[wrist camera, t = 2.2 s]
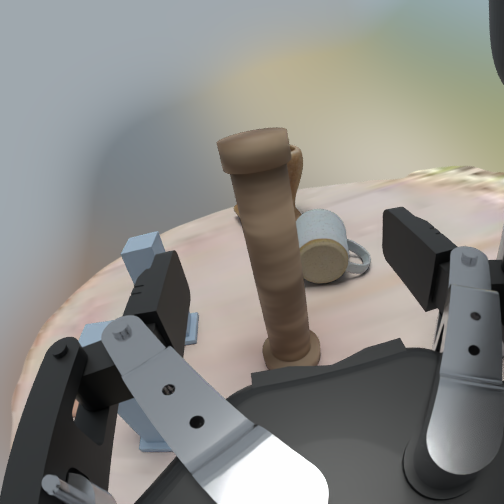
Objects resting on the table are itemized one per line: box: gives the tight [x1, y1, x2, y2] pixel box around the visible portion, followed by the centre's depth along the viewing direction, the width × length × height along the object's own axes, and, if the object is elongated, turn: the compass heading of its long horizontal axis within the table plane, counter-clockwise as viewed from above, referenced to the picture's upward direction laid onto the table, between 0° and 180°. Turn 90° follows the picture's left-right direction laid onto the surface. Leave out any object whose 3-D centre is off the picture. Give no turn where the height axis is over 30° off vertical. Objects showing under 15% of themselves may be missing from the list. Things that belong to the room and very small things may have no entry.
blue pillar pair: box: [78, 231, 199, 452], centre depth 28 cm, size 19×5×13 cm, turn 5°
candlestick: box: [217, 128, 320, 370], centre depth 25 cm, size 6×6×22 cm
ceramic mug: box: [296, 209, 371, 283], centre depth 41 cm, size 11×8×8 cm
